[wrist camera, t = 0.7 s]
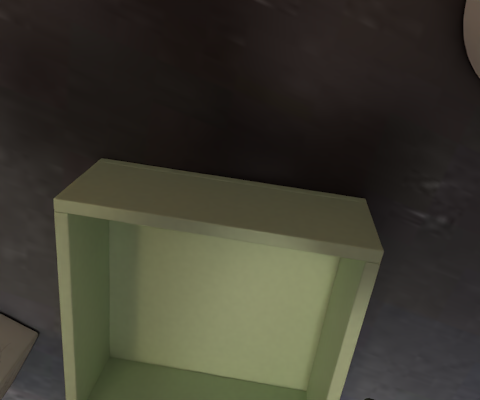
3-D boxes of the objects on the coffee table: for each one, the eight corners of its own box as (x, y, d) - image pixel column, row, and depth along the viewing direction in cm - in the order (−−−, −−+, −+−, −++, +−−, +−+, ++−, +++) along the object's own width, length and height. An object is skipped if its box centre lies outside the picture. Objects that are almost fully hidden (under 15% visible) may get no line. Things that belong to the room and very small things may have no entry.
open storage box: (314, 393, 27) (318, 472, 23) (103, 356, 28) (66, 425, 23) (365, 198, 22) (384, 251, 17) (101, 157, 22) (52, 198, 18)
